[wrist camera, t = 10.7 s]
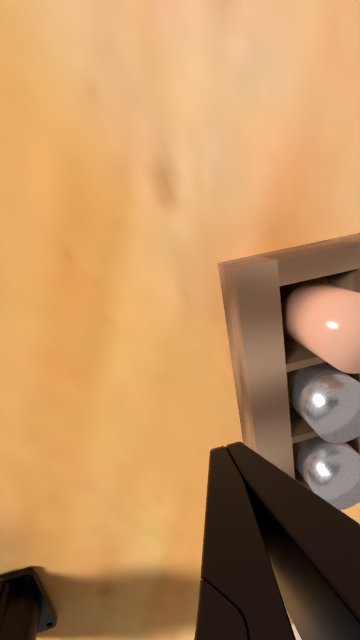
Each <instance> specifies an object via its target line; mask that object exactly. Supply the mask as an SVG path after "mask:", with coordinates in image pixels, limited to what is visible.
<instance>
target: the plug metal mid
mask: <svg viewBox="0 0 360 640" xmlns="http://www.w3.org/2000/svg"><path fill="white" fill-rule="evenodd" d="M286 374H287V386H288V399H289V404H290V405H291V406H292V407H293V408H294V409H295V410H296V411H297V412H298V413H299V415H300V416H301V417H302V418H303V419H304V420H305V421H306V422H307V423H308V424H309V425H310V426H311V427H312V428H313V429H314V431H315V432H316V433H317V434H318V435H319V436H320V437H321V438H322V439H324V440H325V441H327V442H331V443H344V442H347V441H350V440H352V439H354V438H356V437H358V436H359V435H360V383H359V382H358V381H356V380H355V379H353V378H352V377H350V376H349V375H347V374H346V373H344V372H342V371H340V370H338V369H337V368H335V367H334V366H332V365H331V364H329V363H328V362H324V363H320V364H316V365H312V366H308V367H304V368H301V369H297V370H293V371H289V372H286Z"/></svg>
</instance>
